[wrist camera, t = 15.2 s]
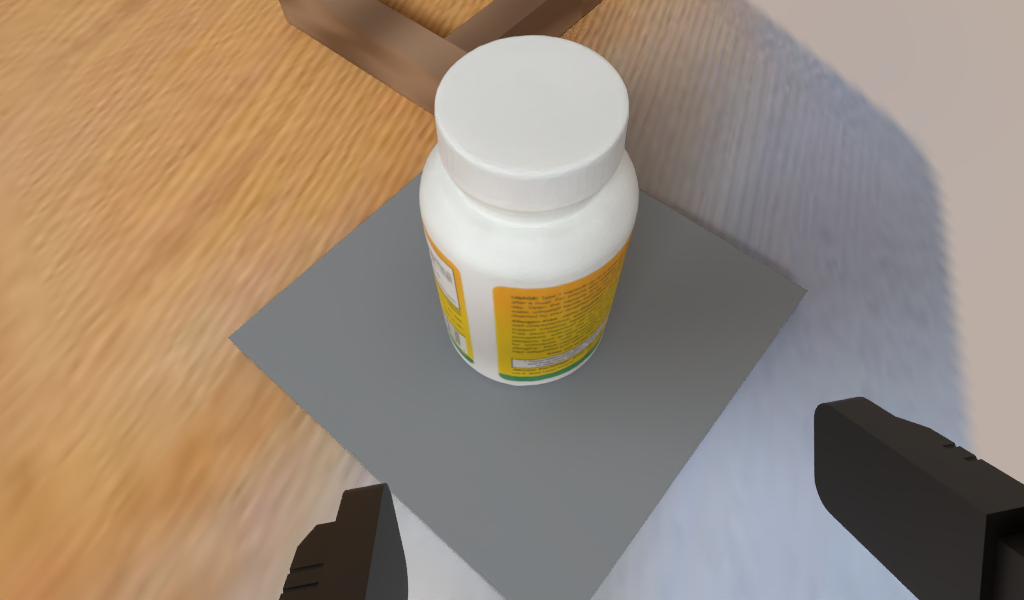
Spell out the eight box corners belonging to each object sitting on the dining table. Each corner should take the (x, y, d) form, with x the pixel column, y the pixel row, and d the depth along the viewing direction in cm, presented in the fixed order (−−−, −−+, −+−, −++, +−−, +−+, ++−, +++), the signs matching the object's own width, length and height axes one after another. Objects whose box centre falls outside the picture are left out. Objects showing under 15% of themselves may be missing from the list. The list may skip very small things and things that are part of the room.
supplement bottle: (416, 345, 20) (342, 137, 12) (496, 229, 23) (480, -15, 14) (562, 420, 19) (593, 245, 11) (631, 289, 21) (702, 59, 13)
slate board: (240, 350, 21) (228, 337, 21) (500, 122, 27) (500, 105, 26) (555, 646, 17) (557, 646, 16) (796, 304, 22) (807, 290, 21)
